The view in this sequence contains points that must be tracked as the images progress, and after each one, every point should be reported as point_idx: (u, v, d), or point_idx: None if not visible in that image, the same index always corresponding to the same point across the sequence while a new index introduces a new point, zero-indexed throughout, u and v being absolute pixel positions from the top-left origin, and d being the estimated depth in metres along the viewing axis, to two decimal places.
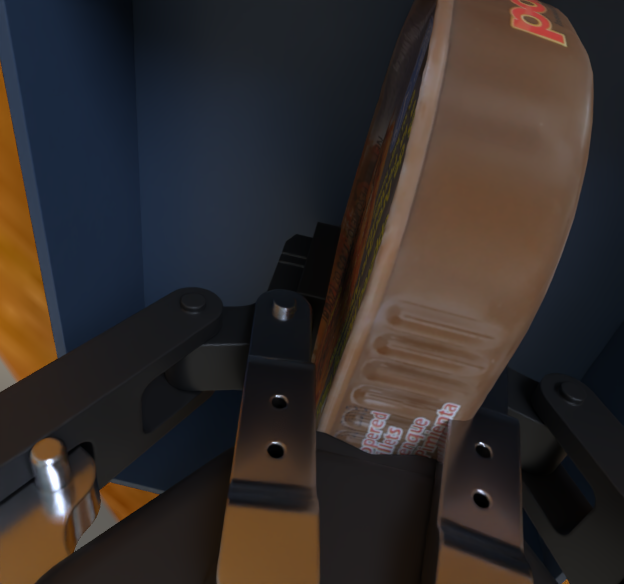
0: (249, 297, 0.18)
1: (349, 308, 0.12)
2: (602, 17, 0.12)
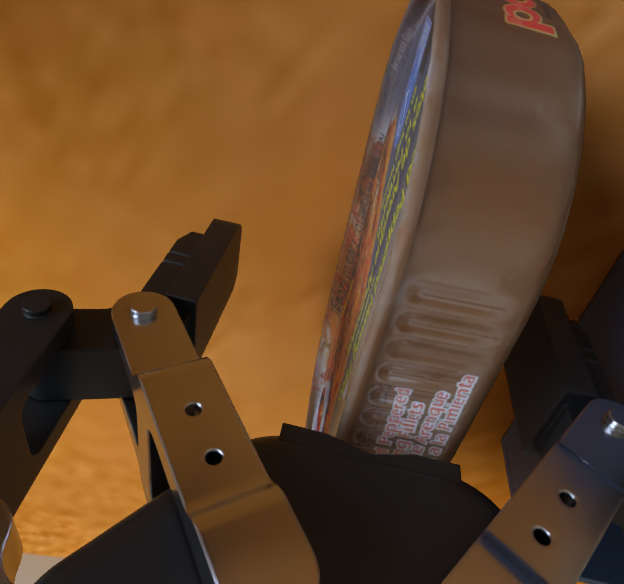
0: None
1: (364, 297, 0.13)
2: None
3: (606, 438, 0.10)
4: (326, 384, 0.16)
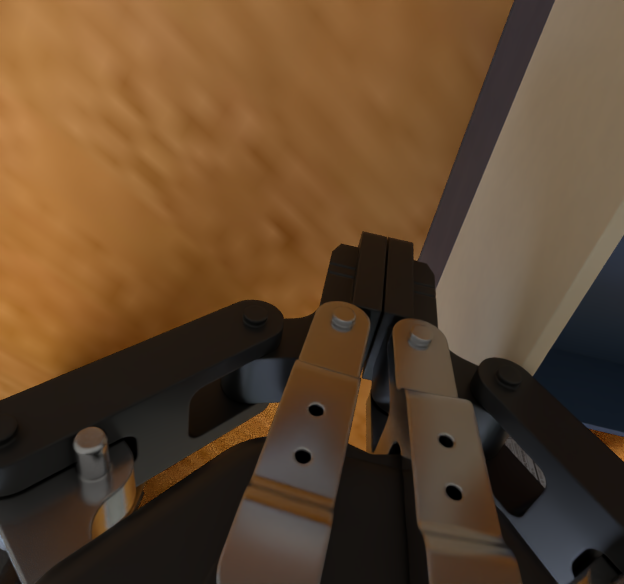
0: None
1: None
2: None
3: (402, 348, 0.11)
4: None
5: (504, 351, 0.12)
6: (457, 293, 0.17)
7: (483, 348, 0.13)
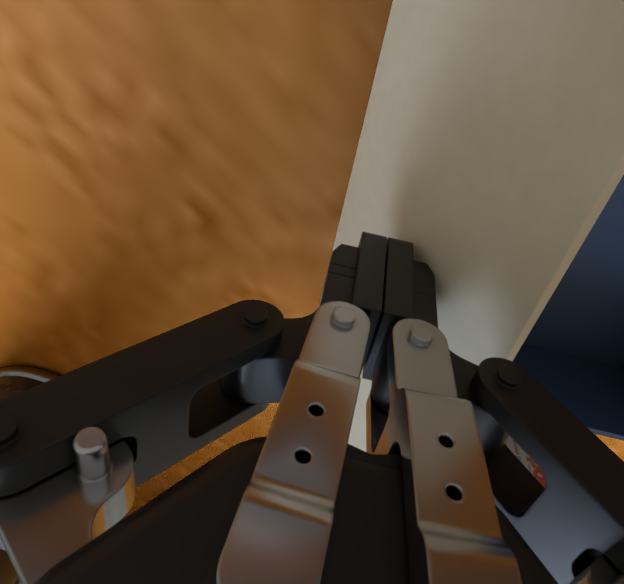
0: None
1: None
2: None
3: (402, 348, 0.10)
4: None
5: (484, 323, 0.13)
6: None
7: (446, 322, 0.14)
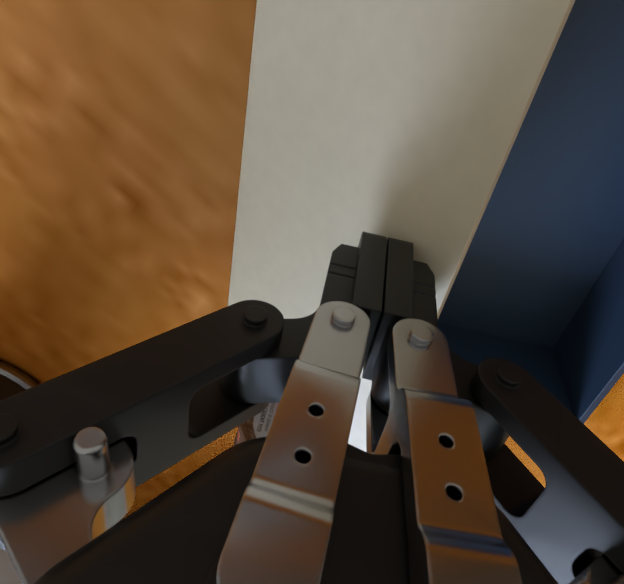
0: (593, 108, 0.20)
1: None
2: None
3: (402, 348, 0.10)
4: None
5: (425, 255, 0.14)
6: (290, 236, 0.17)
7: None
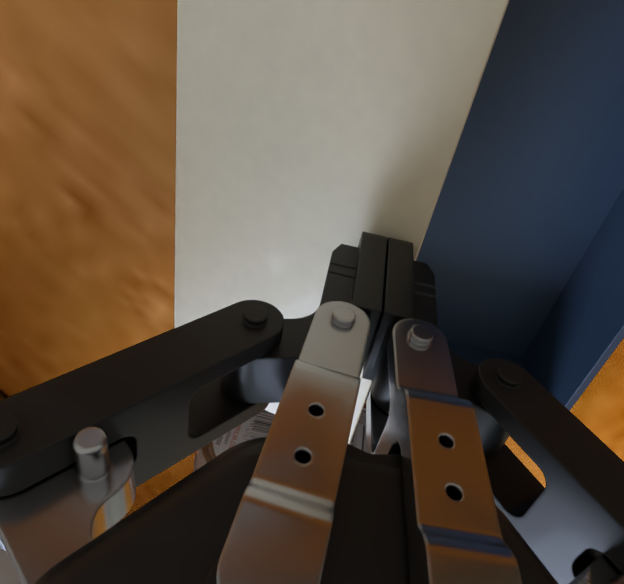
0: (553, 107, 0.19)
1: None
2: None
3: (402, 348, 0.10)
4: None
5: (387, 238, 0.15)
6: (240, 236, 0.17)
7: None
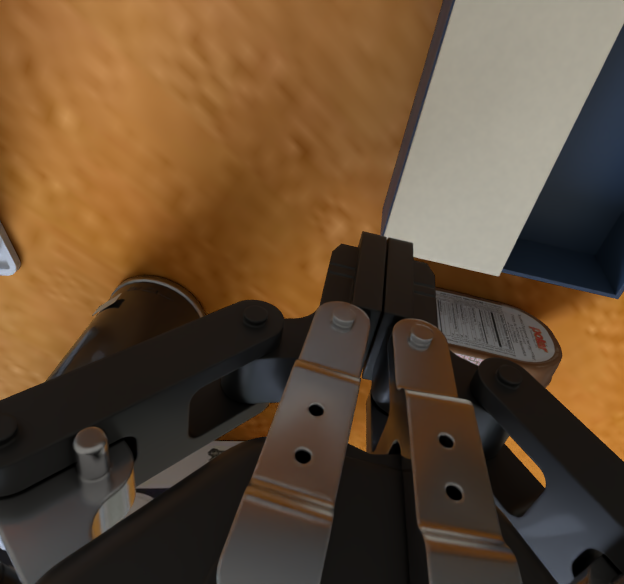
0: None
1: None
2: None
3: (402, 348, 0.11)
4: None
5: (549, 136, 0.29)
6: (456, 149, 0.30)
7: (524, 147, 0.29)
